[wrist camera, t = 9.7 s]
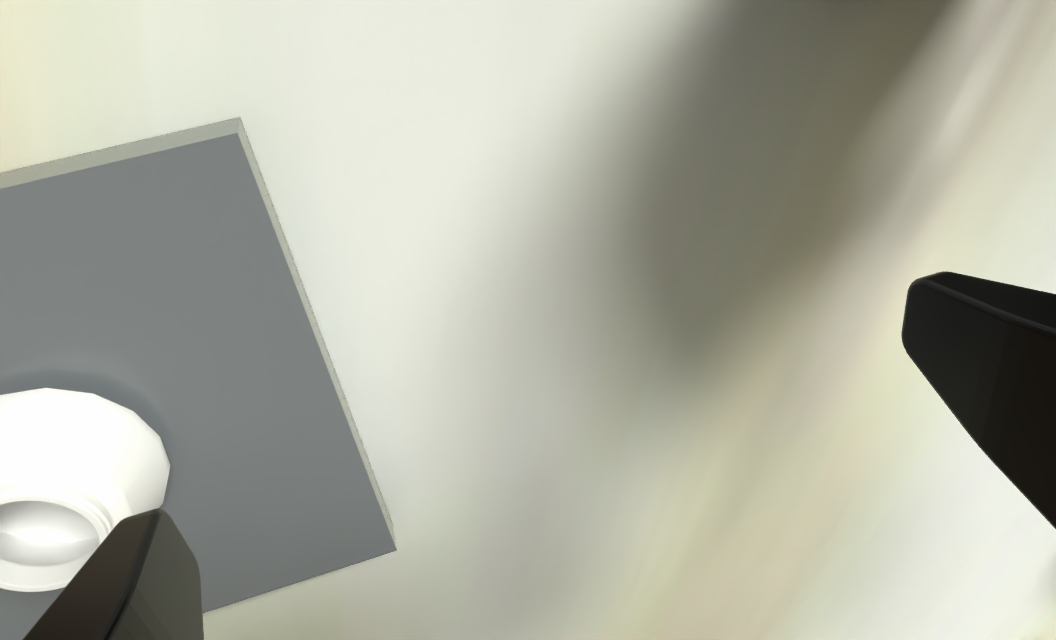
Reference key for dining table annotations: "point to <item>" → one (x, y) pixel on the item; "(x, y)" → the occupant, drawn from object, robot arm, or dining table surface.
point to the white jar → (69, 481)
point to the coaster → (189, 353)
